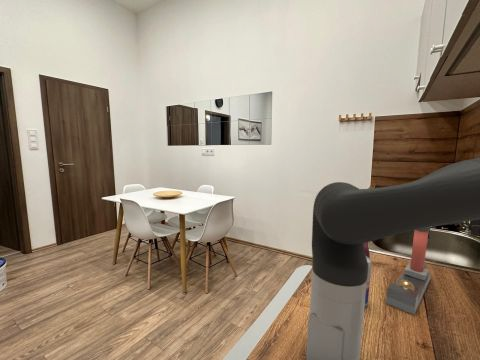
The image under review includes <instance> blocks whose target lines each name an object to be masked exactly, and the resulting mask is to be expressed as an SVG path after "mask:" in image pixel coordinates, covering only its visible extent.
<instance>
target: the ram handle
mask: <svg viewBox="0 0 480 360" xmlns="http://www.w3.org/2000/svg"><path fill="white" fill-rule="evenodd" d="M431 228H432V227H426V228H420V229H416V230H413V239H412V241H413V242H412V247H411V257H410V263H408V264H407V265H406V267H405V268H404V270H403V272H404V274H406V275H409V276H412V277H415V278H418V279H421V280H424V281H425V279H426V277H427V275H428V273H429V269H428V268H426V267H425V262H426V261H425V260H426V253H427V246H428V238H429V232H430V231H431Z"/></svg>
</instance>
